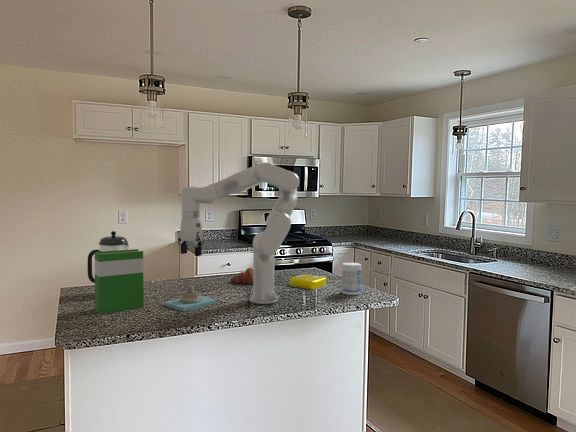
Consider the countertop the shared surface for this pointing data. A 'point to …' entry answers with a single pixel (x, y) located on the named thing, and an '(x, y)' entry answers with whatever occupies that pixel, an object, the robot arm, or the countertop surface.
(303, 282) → the element tile
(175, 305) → the teal plate with knob
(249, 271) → the pastry
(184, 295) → the ring
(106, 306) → the hardback book
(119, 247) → the coffee press
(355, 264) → the supplement tub
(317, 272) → the countertop surface
